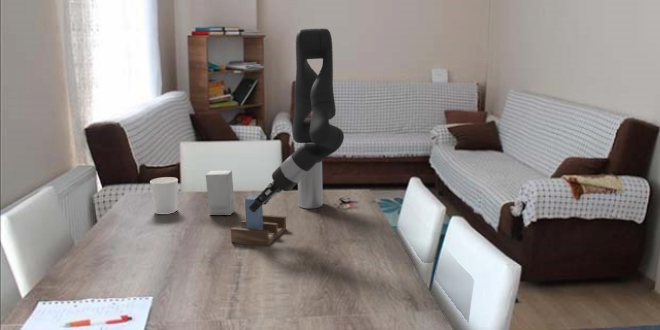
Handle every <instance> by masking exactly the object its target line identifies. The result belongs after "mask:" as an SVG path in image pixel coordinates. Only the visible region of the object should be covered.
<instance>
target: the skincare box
mask: <svg viewBox="0 0 660 330" xmlns="http://www.w3.org/2000/svg"><path fill="white" fill-rule="evenodd" d="M205 182H206V191H207V192H206V194H207V205H208V214H210V215H231V214H232V213H235V211H236V209H235V194H234V192H235V191H234V182H233V171H232V170H231V169H230V170H210V171H209V172H208V173H206V174H205ZM231 216H232V215H231Z"/></svg>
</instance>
